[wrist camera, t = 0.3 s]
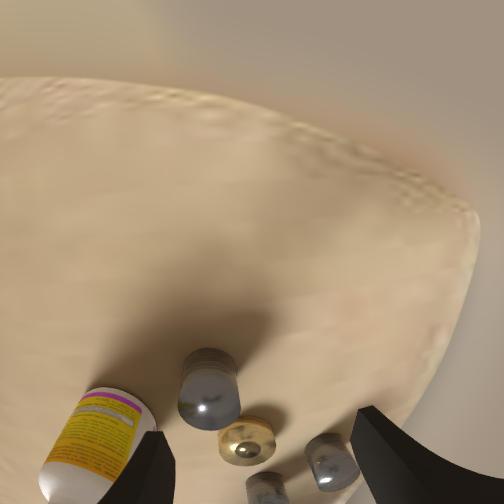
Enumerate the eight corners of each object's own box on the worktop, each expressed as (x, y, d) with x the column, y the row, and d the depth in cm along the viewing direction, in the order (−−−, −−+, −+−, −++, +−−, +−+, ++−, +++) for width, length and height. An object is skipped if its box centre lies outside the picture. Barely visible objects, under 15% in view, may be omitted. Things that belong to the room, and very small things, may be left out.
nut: (245, 456, 21) (247, 473, 19) (207, 434, 21) (207, 452, 18) (282, 430, 21) (287, 446, 19) (244, 406, 20) (247, 423, 18)
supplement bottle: (68, 389, 18) (-2, 498, 6) (133, 376, 19) (78, 518, 6) (108, 446, 20) (72, 557, 7) (172, 438, 20) (157, 570, 7)
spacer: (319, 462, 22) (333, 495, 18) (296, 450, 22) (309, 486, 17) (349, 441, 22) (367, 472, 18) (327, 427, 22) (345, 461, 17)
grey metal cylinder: (211, 398, 20) (212, 438, 15) (173, 370, 19) (165, 408, 15) (246, 369, 20) (253, 407, 15) (207, 338, 19) (206, 372, 15)
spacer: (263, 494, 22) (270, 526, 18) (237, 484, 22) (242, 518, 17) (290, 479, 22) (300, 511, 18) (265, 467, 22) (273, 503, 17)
